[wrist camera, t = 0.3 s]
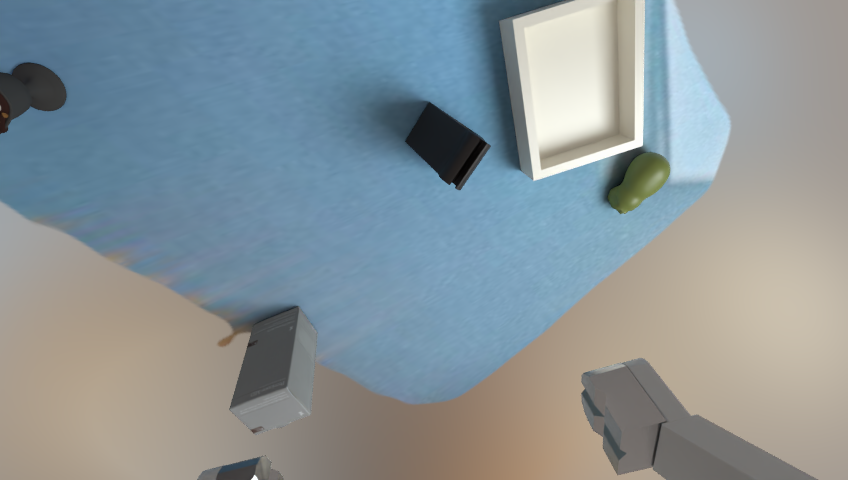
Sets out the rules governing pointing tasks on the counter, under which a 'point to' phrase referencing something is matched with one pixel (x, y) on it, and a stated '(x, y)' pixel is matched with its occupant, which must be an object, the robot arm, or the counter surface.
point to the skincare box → (276, 373)
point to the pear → (640, 181)
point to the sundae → (29, 92)
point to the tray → (575, 82)
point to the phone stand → (447, 145)
